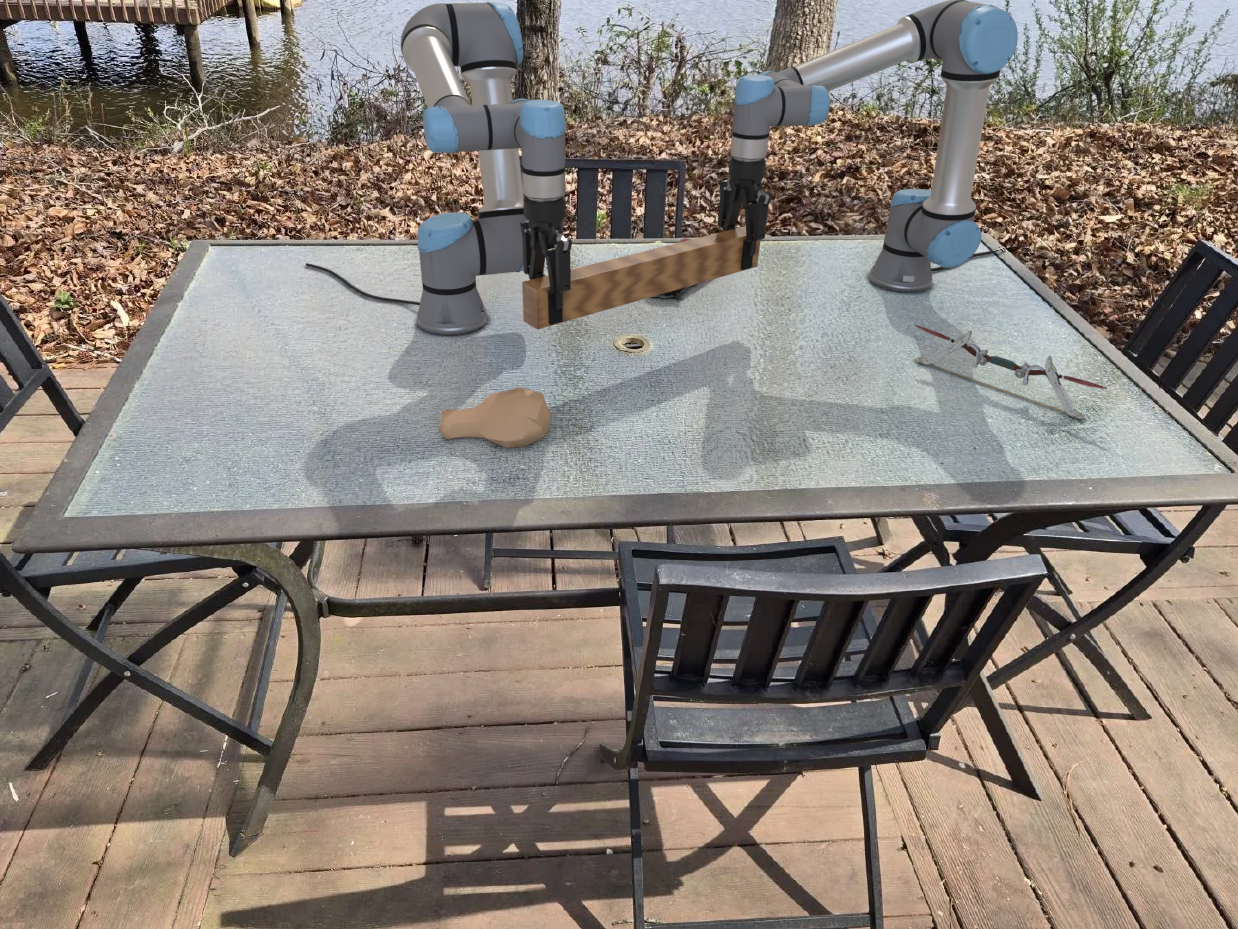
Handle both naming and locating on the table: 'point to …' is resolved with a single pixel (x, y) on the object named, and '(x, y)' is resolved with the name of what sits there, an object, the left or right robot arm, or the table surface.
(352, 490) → the table surface
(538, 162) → the left robot arm
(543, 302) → the post
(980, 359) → the bow
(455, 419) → the squash
